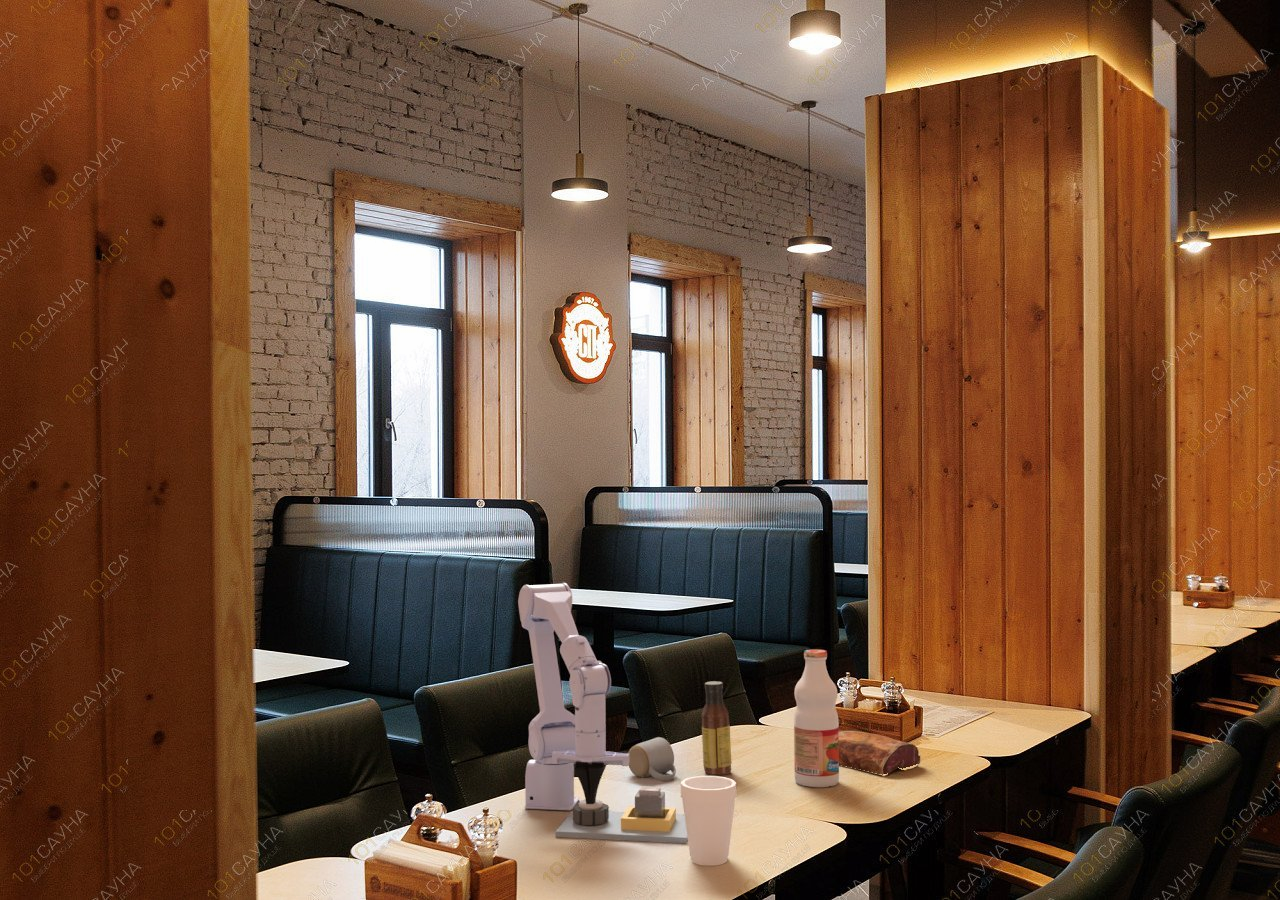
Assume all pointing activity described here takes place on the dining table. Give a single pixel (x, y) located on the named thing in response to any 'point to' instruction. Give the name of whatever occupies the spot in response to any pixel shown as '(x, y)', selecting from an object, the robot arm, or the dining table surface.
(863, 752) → the cured meat
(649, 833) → the plate
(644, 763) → the ceramic mug
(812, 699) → the fruit juice
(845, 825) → the dining table surface
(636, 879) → the dining table surface
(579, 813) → the dark grey knob
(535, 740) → the robot arm
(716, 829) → the foam cup
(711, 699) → the sauce bottle
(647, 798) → the grey square peg
